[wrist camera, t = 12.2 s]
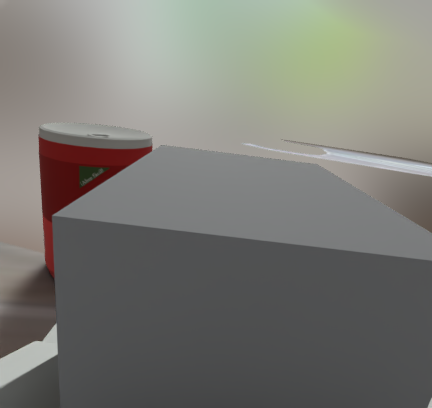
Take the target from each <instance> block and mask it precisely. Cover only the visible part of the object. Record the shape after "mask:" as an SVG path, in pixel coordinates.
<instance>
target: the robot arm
mask: <svg viewBox="0 0 432 408" xmlns="http://www.w3.org/2000/svg"><path fill="white" fill-rule="evenodd" d="M0 408H60V394H59V371H58V347H57V323H56V324H55V325H54V326H53V328H52V329H51V330H50V332H49V333H48V334H47V335H46V337H45V338H44V339H43V341H34V342H32V343H30V344H28V345H26V346H24V347H22V348H20V349H18V350H16V351H14V352H13V353H11V354H9V355H7V356H5V357H3V358H1V359H0ZM427 408H432V398H431V400H430V403H429V405H428V407H427Z"/></svg>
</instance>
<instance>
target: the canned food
mask: <svg viewBox="0 0 432 408" xmlns="http://www.w3.org/2000/svg"><path fill="white" fill-rule="evenodd" d="M150 152H152V136H151V135H150V134H148V133H146V132H142V131H138V130H134V129H128V128H122V127H115V126H107V125H97V124H84V123H49V124H44V125H41V126H40V127H39V159H40V177H41V193H42V194H41V195H42V210H43V211H42V212H43V229H44V246H45V261H46V265H47V267H48V270H49V272H50V274H51V275H52V277H53V278H54V279H55V275H54V252H53V228H52V215H54V214H55V213H57V212H58V211H60V210H61V209H63V208H64V207H66V206H68V205H69V204H71V203H72V202H74V201H75V200H77V199H78V198H80V197H82V196H83V195H85V194H86V193H88V192H89V191H91V190H93V189H94V188H96V187H97V186H99V185H100V184H102V183H103V182H105V181H107V180H108V179H110V178H111V177H113V176H114V175H116V174H117V173H119V172H121V171H122V170H124V169H125V168H127V167H128V166H130V165H131V164H133V163H135V162H136V161H138V160H139V159H141V158H142V157H144V156H145V155H147V154H149V153H150Z"/></svg>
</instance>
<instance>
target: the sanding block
mask: <svg viewBox="0 0 432 408" xmlns="http://www.w3.org/2000/svg"><path fill="white" fill-rule="evenodd" d="M52 228H53V252H54V275H55V299H56V323H57V347H58V371H59V394H60V408H427V407H428V405H429V403H430V400H431V398H432V233H430V232H429V231H427V230H426V229H424V228H422V227H421V226H419V225H417V224H416V223H414V222H412V221H410V220H409V219H407V218H406V217H404V216H402V215H401V214H399V213H397V212H396V211H394V210H392V209H391V208H389V207H387V206H386V205H384V204H382V203H381V202H379V201H377V200H376V199H374V198H372V197H371V196H369V195H367V194H366V193H364V192H362V191H361V190H359V189H357V188H356V187H354V186H352V185H351V184H349V183H347V182H346V181H344V180H342V179H341V178H339V177H338V176H336V175H334V174H333V173H331V172H329V171H328V170H326V169H324V168H323V167H321V166H319V165H317V164H310V163H302V162H295V161H286V160H279V159H271V158H263V157H255V156H247V155H239V154H231V153H223V152H215V151H207V150H199V149H190V148H182V147H174V146H165V145H161V146H159V147H158V148H156V149H155V150H153V151H152V152H150V153H149V154H147V155H145V156H144V157H142V158H141V159H139V160H138V161H136V162H135V163H133V164H131V165H130V166H128V167H127V168H125V169H124V170H122V171H121V172H119V173H117V174H116V175H114V176H113V177H111V178H110V179H108V180H107V181H105V182H103V183H102V184H100V185H99V186H97V187H96V188H94V189H93V190H91V191H89V192H88V193H86V194H85V195H83V196H82V197H80V198H78V199H77V200H75V201H74V202H72V203H71V204H69V205H68V206H66V207H64V208H63V209H61V210H60V211H58V212H57V213H55V214H54V215H52Z"/></svg>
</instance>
